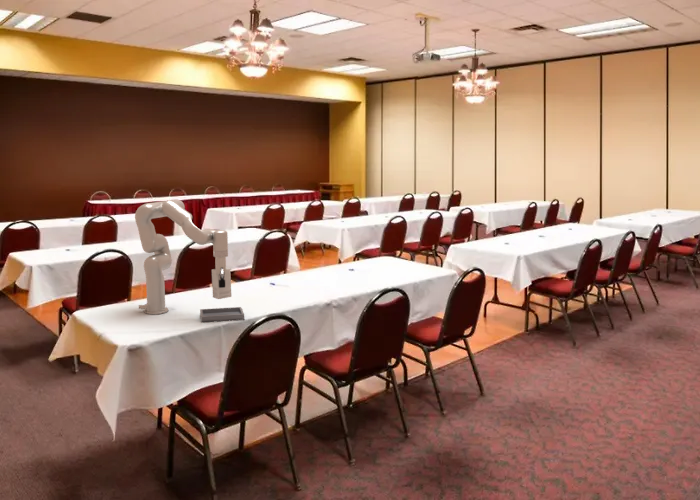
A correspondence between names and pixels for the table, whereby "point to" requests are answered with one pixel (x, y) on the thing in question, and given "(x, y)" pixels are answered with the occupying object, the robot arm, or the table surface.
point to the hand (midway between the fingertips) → (221, 285)
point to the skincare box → (218, 292)
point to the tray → (221, 314)
